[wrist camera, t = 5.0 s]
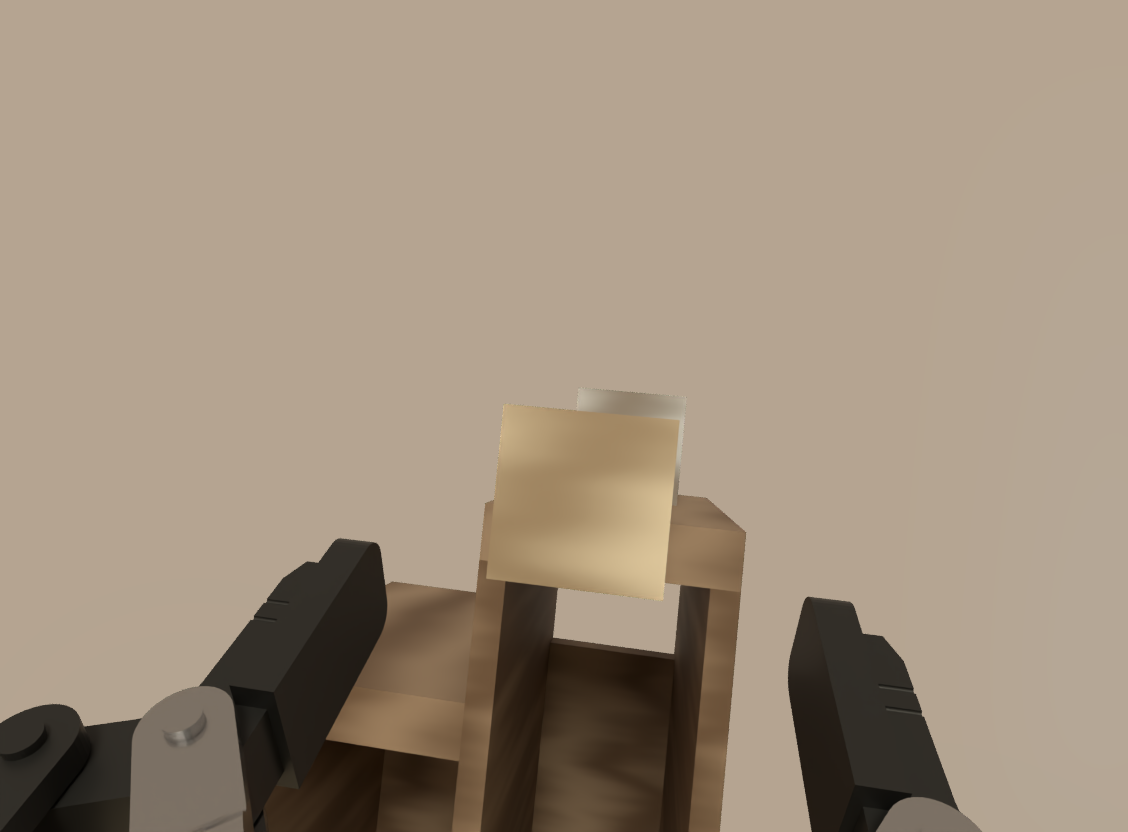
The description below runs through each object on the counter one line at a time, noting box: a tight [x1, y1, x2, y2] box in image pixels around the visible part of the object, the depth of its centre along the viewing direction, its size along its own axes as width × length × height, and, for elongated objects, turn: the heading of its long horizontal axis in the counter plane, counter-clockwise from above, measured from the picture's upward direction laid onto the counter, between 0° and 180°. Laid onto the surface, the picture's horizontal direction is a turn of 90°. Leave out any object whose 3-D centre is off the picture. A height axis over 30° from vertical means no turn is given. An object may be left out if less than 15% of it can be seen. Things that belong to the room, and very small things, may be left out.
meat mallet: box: [486, 388, 687, 601], centre depth 25 cm, size 5×27×5 cm, turn 173°
